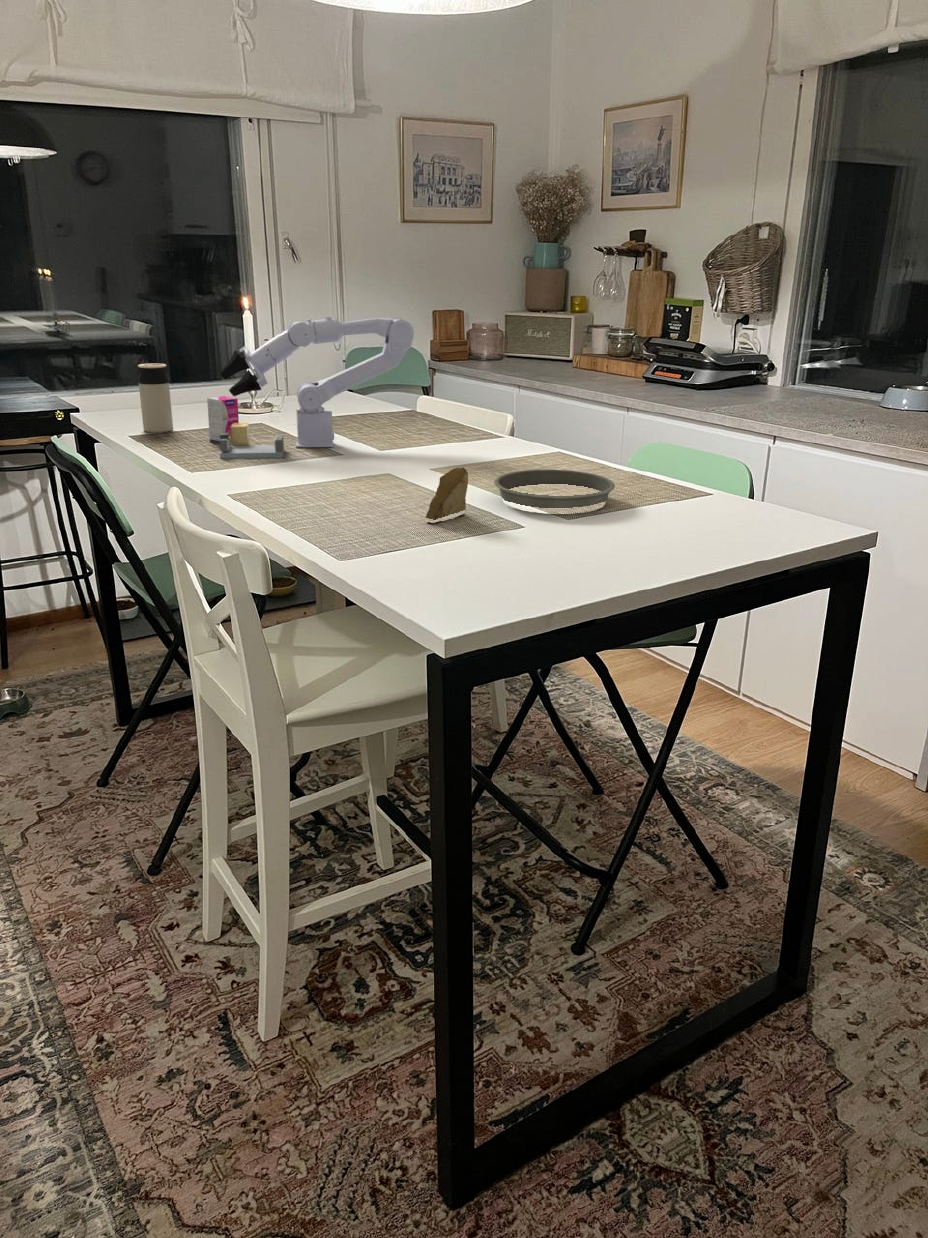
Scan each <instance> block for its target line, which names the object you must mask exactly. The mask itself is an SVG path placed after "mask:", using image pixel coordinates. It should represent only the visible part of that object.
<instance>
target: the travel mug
mask: <svg viewBox="0 0 928 1238" xmlns="http://www.w3.org/2000/svg"><path fill="white" fill-rule="evenodd" d="M137 367H138V368H139V369H138V370H139V374H138V377H137V380H138V390H139V399H140V408H141V416H142V417H141V418H142V427H143V431H145V432H146V431H147V433H151V432H161V433H168V432H167V431H169V432H171V431H172V430H173V429H174V425H173V414H172V411H173V410H172V402H171V392H170V391H171V390H170V382H169V375H168V374H167V372H166V368H167V364H165V363H140V364H138V365H137Z"/></svg>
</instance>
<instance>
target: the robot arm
mask: <svg viewBox="0 0 928 1238" xmlns="http://www.w3.org/2000/svg"><path fill="white" fill-rule="evenodd" d="M364 334H365V335H367V334H376V335H378V336H381V337H384V339H385V340H384V344H383V347H382V351H381V352H380V353H378V354H376V355H374V356H371V357H370V358H368V359H366V360H363V361H361V362H359V363H357V364H354V365H353V366H349V368H346V369H343V370H342V371H340V372H337V373H336V374H333V375H331V376H329V377H327V378H324V379H319V380H317V381H315V382H314V381H313V382H304V383H302V384H301V385H300V386H299V387H298V389H297V391H296V397H297V401H298V405H299V406H298V407H297V408H296V427H297V429H296V430H297V440H296V443H295V448H333V447H334V440H335V432H333V429H334V428H333V411H332V410H325V407H323V405H324V404H325V403H326V402H329V401H330V400H332V399H333V398H335V396H337V395H340V394H341V393H343V392H345V391H348V390H350V389H352V388H354V387H356V386H359V385H361V384H363V383H365V382H367V381H369V380H371V379H374V378H376V377H377V376H380V375H382V374H385V373H386V372H389V371H390V370H393V369H395V368H396V367H398V366H399V365H400V363H401V361H402V360H403V358H404V357H405V355H406V353H407V352H408V350H409V349H410V348H411V347H412V345H413V339H414V337H415V336H414V335H415V331H414V327H413V325H412V324H411V323H410V322H408V321H407V320H404V319H403V318H401V317H393V318H391V317H374V318H366V319H359V320H352V321H346V322H341V321H340V320H339V319H337V318H333V317H332V316H330V315H328V316H325V319H316V320H312V319H311V318H307V319H306V322H304V321H294V322H292V323H290V325H289V326H288V329H286V330H284V331H282V332H281V333H280V334H277V335H275V336H274V337H272V338H271V339H269V340H268V341H267V342H265V343H264V344H262V345H261V346H260V347H258V348H256V350H254V351H252V352H251V351H250V350H249V349H248V348H247V346H246V345H244V346H243V347H241V348H240V349H239V350H237V349H236V350H234V351H233V353H232V356H231V358H230V359H229V361H228V362H227V364H226V365H225V366H224V367H223V368H222V369H221V371H219V375H221V377H222V378H223V379H224V380H226V379H229V378H230V377H232V376H234V375H235V374H237V373H239V372H242V371H245V370H247V371H246V372H245V374H244V375H243V376H242V377H241V378H240V379H239V381H237V382H236V383H235V384H234V385H232V386H231V387H230V388H229V389H228V391H229V393H230V394H231V395H232V396H233V397H236V396H240V395H242V394H245V393H249V392H254V391H255V392H256V391H261V390H262V388H263V387H264V386H266V385H267V384H268V383H269V382H268V381H267V378H266V376H265V375H264V374H265V373H267V372H269V371H270V370H271V369H272V368H274V367H275V366H278V364H280V363H281V362H283V361H284V360H285V359H288V358H289V357H290V356H291V355H293V353H294V352H295V351H297V350H299V349H300V347H304V348H306V347H308V346H310V344H311V343H312V344H314V345H320V344H327V343H337V342H339V341H340V340H341V339H342V338H343V337H344V336H351V335H353V336H354V335H364ZM238 351H239V352H238Z"/></svg>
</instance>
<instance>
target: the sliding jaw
mask: <svg viewBox="0 0 928 1238" xmlns="http://www.w3.org/2000/svg"><path fill="white" fill-rule="evenodd" d="M220 438H221V440H220V443H219V444H220V452H227V451H228V450H229V448H230V446H232V442H231V435H230V434H229V433H221V434H220Z"/></svg>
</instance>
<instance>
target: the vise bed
mask: <svg viewBox="0 0 928 1238" xmlns="http://www.w3.org/2000/svg"><path fill="white" fill-rule="evenodd" d="M284 443H285V442H284V434H283V433H277V434H276V435H275V438H274V443H273V444H274V445H272V444H271V445H270V444H269V445H267V444H266V445H260V444H259V445H256V444H255V445H250V446H232V445H231V446H230V448H229V450H228V451H227V452H221V451H220V453H219V458H220V459H268V458H269V459H270V458H274V459H275V458H279V459H280V458H281V459H282V458H283V457H284V453H285V452H284V451H285V444H284Z"/></svg>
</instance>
